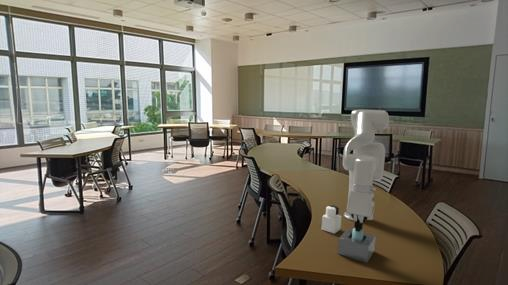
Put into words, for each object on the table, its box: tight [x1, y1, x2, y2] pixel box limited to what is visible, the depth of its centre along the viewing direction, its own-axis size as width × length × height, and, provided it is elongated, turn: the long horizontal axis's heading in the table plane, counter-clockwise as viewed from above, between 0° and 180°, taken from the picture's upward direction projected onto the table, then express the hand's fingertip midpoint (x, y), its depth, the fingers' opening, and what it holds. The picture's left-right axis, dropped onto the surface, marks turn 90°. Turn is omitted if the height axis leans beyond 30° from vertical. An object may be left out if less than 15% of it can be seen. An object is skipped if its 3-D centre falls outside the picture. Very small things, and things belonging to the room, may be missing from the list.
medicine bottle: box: [320, 204, 342, 234], centre depth 153 cm, size 7×7×12 cm
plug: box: [352, 227, 365, 242], centre depth 130 cm, size 4×4×10 cm
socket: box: [337, 228, 377, 264], centre depth 130 cm, size 12×12×7 cm
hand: (358, 230), depth 129 cm, fingers closed
